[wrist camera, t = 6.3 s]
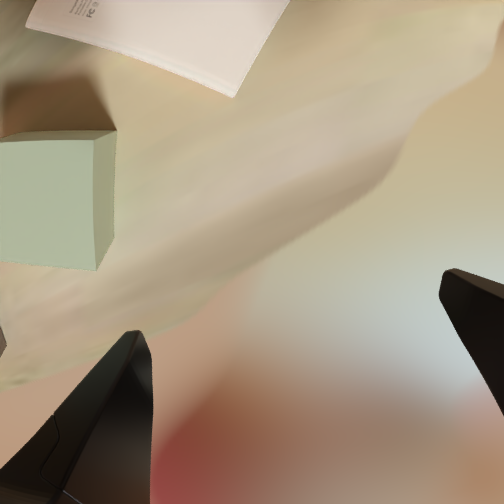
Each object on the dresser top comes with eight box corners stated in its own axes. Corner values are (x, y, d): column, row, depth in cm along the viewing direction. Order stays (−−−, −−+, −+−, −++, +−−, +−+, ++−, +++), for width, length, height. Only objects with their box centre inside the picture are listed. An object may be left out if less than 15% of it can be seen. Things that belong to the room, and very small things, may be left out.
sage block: (22, 131, 14) (-17, 143, 10) (118, 130, 15) (94, 140, 11) (27, 229, 16) (-4, 260, 13) (115, 236, 17) (96, 271, 14)
